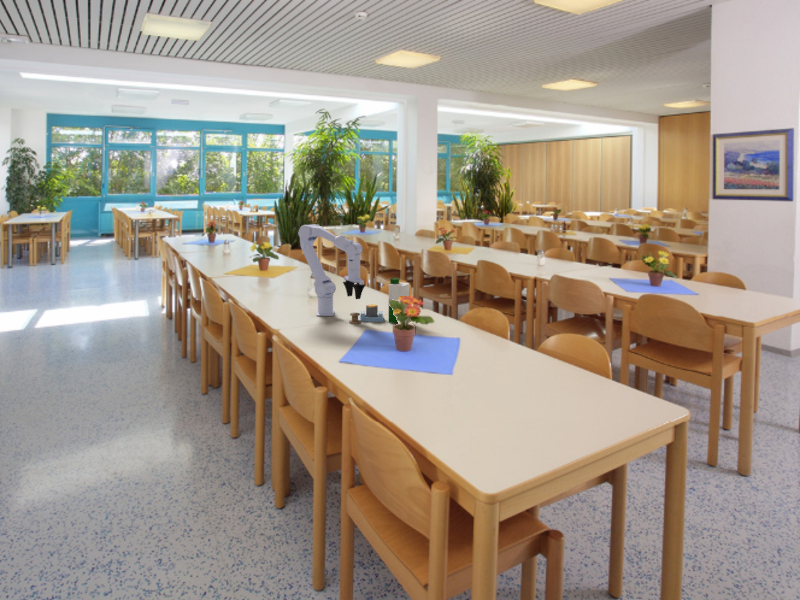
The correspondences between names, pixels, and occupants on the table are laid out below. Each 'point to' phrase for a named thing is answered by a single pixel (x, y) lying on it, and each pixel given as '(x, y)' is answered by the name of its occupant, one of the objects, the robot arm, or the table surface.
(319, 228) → the robot arm
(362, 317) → the blue square socket
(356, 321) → the bobbin
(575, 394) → the table surface
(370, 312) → the orange and grey block
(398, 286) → the soya milk
